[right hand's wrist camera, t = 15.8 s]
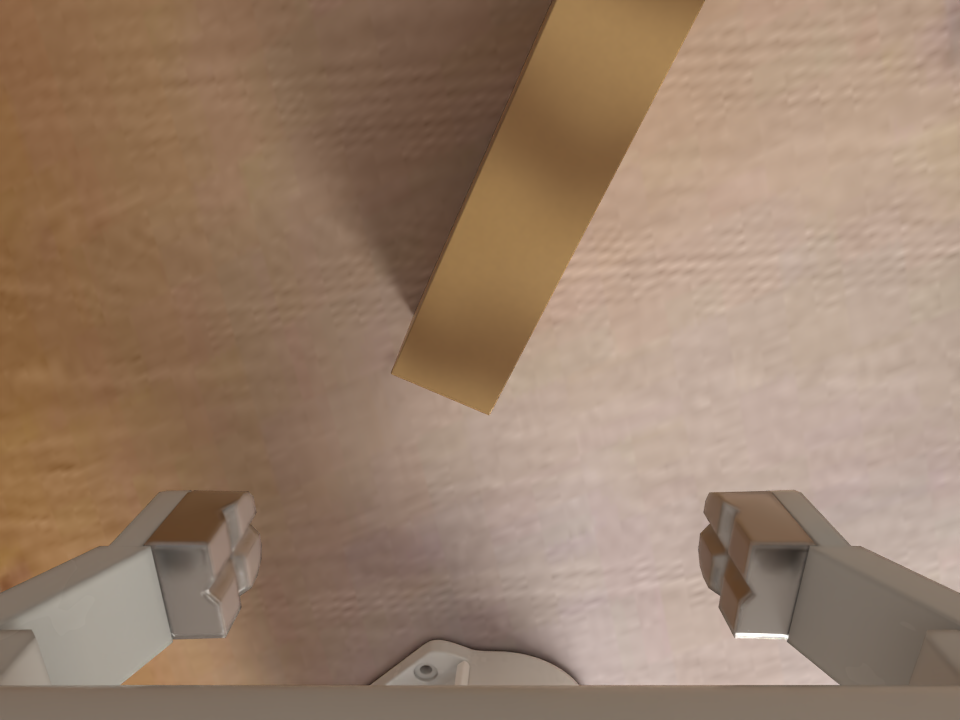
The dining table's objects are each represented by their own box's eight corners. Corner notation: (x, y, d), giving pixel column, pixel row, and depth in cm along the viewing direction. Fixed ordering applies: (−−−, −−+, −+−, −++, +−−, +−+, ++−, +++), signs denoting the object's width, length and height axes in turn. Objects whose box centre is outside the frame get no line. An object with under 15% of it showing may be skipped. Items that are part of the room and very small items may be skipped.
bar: (487, 348, 34) (489, 416, 26) (413, 316, 33) (390, 374, 25) (688, -57, 27) (782, -149, 19) (600, -108, 27) (657, -228, 18)
